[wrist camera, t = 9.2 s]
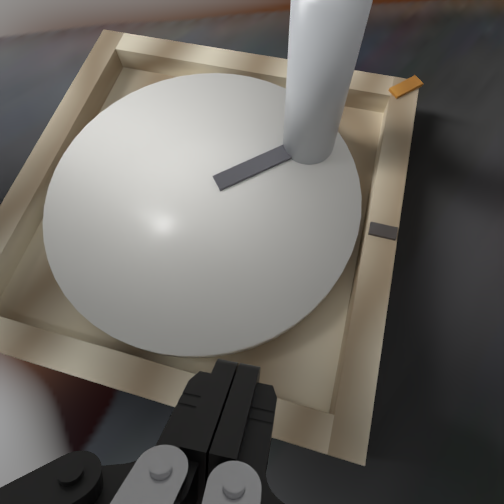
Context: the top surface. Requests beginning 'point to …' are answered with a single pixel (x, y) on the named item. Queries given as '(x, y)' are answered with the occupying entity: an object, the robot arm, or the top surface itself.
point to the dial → (214, 199)
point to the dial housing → (268, 354)
